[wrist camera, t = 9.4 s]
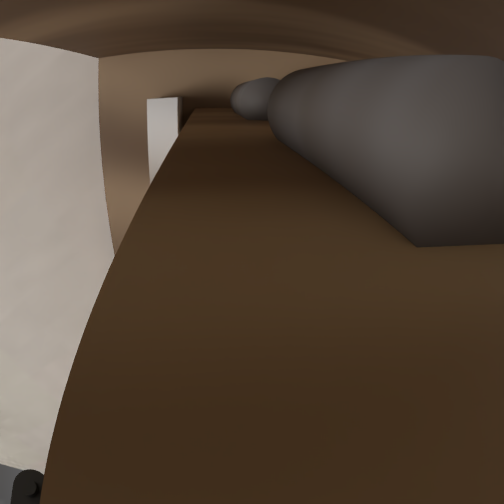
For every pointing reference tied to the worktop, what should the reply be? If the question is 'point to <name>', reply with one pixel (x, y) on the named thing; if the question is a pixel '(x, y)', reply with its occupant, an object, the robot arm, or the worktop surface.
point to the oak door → (306, 302)
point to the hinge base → (224, 59)
